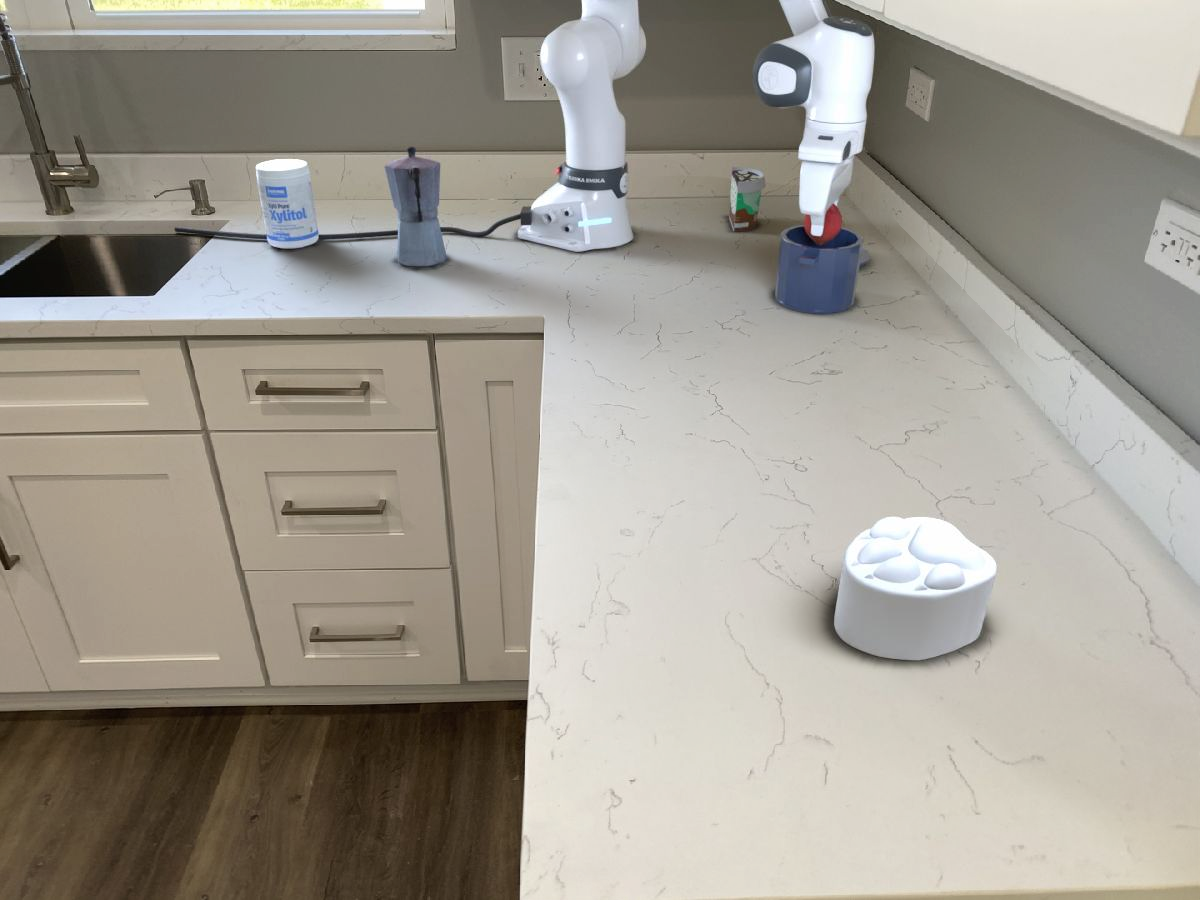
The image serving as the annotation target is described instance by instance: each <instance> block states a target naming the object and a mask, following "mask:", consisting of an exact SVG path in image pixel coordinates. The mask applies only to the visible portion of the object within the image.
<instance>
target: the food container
mask: <svg viewBox="0 0 1200 900" xmlns="http://www.w3.org/2000/svg"><path fill="white" fill-rule="evenodd" d="M764 175H765V174H764V172H762V171H761V170H758V169H755V168H750V167H744V166H731V169H730V188H729V189H730V191H729V206H728V219H729V222H730V225H731V228H732V230H733V232H745V231H750V230H753V229H755V228H756V226H757V222H758V217H759V211H760V205H761V204H760V203H761V196H762V190H764V189H765V188H766V185H767V184H766V177H765V176H764Z"/></svg>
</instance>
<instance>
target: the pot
mask: <svg viewBox="0 0 1200 900" xmlns="http://www.w3.org/2000/svg"><path fill="white" fill-rule="evenodd" d="M779 236H780V237H779V238H780V239H779V245H778V256H777V266H776V275H775V276H776V278H775V287H774V298H775V301H776V302H777V303H778V304H779V305H781V306H783V307H785V308H787V309H790V310H792V311H797V312H802V313H807V314H817V315H823V314H825V315H826V314H827V315H828V314H835V313H840V312H844V311H847V310H849V309H851V307H852V306H853V305H854V303H855V300H856V293H857V287H858V280H859V273H860V267H859V266H860V259H861V253H862V248H863V245H864V238H863V236H862V235H861V233H858V232H856V231H855V230H853V229H850V228H846V227H843V226H842V227H841V230H840V232H839V233H838V235H837V236H835V237H834V238H833V239H832V240H830V241H829V242H827V243H825V244H823V245H820V246H819V245H817V244H816V243H815V242H814V241H813V240H812V239H811V238H810V237H809V235H808V234H807V233H806V231H805V228H804V224H800V225H793V226H790V227H788V228H785V229H783V230H782V232H781V233H780V235H779Z"/></svg>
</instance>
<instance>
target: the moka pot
mask: <svg viewBox="0 0 1200 900" xmlns="http://www.w3.org/2000/svg"><path fill="white" fill-rule="evenodd" d="M406 151H407V155H408V156H404V157H401V158H396V159H392V160H391V161H389V162H386V163H385V164H384V170H385V175H386V179H387V183H388V187H389V188H388V189H389V191H390V195H391V200H392V203H393V208H394V209H396V216H397V219H398V220H397V230H398V235H397V245H396V247H397V249H396V250H397V251H396V252H397V253H396V259H397V262H398V263H399V264H400V265H403V266H408V267H430V266H435V265H438V264H440V263H443V262H445V261H446V260H447V252H446V248H445V243H444V239H443V234H442V233H443V232H441V229H440V227H441V225H440V221H439V218H438V215H439V212H438V211H439V210H438V208H439V205H440V189H441V183H440V182H441V162H440V161H437V160H434V159H431V158H427V157H422V156H416V151H417V149H416V147H414V146H409V147H407V148H406Z"/></svg>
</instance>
